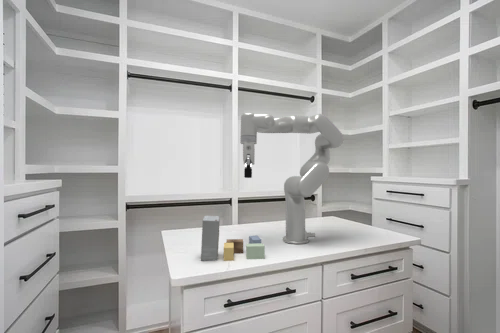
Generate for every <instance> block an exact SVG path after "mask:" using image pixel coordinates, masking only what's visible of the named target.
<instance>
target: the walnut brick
mask: <svg viewBox="0 0 500 333" xmlns="http://www.w3.org/2000/svg"><path fill="white" fill-rule="evenodd" d="M225 243H234V254H235V255H236V254H238V255H239V254H244V239H243V238H239V239H238V238H237V239H235V238H234V239H232V238H231V239H226V241H225Z"/></svg>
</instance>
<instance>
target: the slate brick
mask: <svg viewBox="0 0 500 333" xmlns="http://www.w3.org/2000/svg"><path fill="white" fill-rule="evenodd" d="M262 241H263V240H262V238H260V236H258V235H257V234H256V235H248V244H257V243H262Z"/></svg>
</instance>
